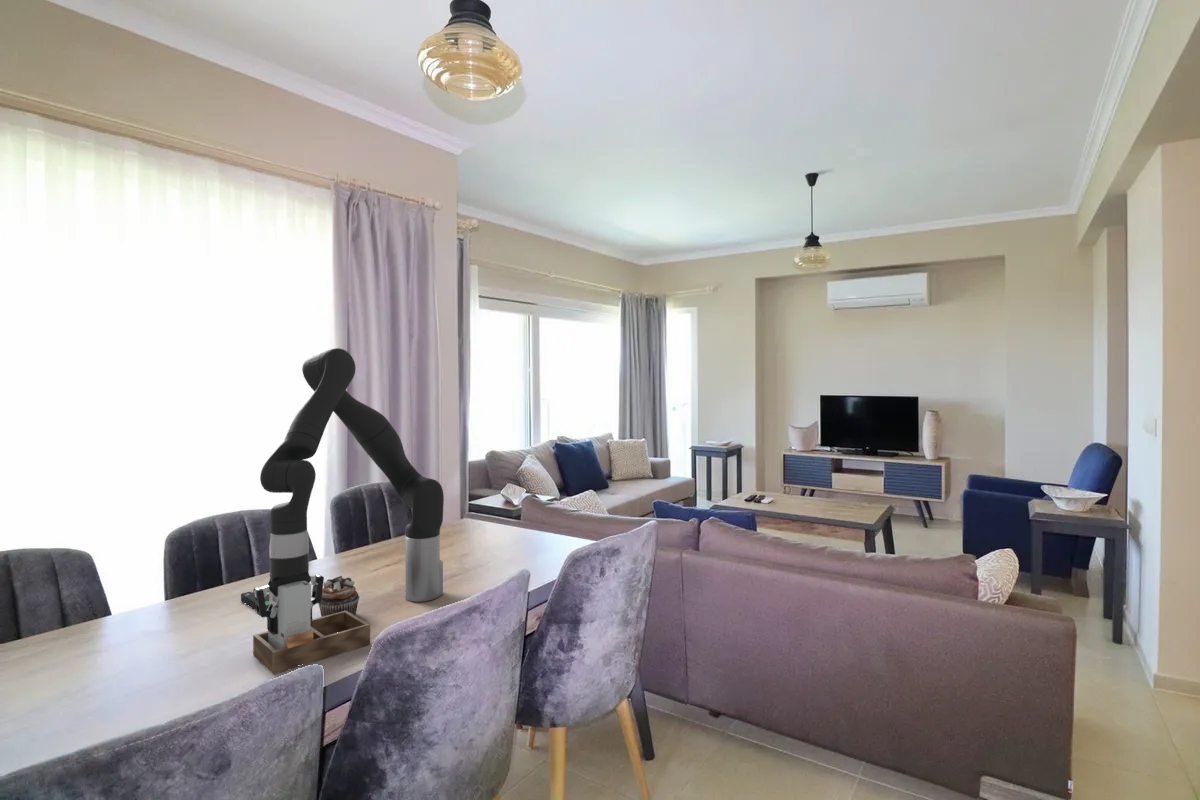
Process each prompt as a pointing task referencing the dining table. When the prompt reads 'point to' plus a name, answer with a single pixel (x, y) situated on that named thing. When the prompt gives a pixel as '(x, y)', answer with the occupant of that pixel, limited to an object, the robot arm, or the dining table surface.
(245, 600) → the disk drive
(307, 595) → the skincare box
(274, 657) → the compartment tray
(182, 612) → the dining table surface
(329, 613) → the cupcake
